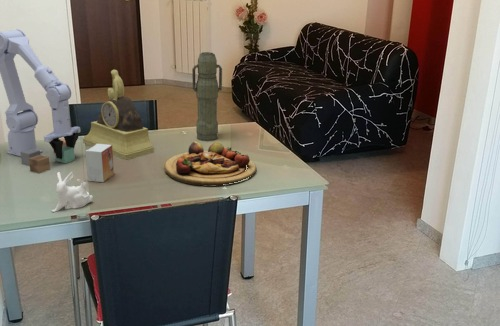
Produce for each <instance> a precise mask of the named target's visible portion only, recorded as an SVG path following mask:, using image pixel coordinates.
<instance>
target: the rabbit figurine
mask: <svg viewBox="0 0 500 326" xmlns="http://www.w3.org/2000/svg"><path fill="white" fill-rule="evenodd" d="M61 175H62V174H61V172H60V171H58V172H57V173H56V176H57V180H58V182H57V183H56V189H55V191H56V193H57V197H58V202H57V204H56V206H55V208H53V209H52V210H50V212H51V213H55V212H58V211H60V210H61V209H63V208H64V209H65V210H70V209H78V208H83V207H85V206H86V205H87V204H90V203H91V202H92V201H93V198H94V196H93V195H92V194H91V195H90V193H89V191H87V189H86V188H88V184H87V183H88V182H86V181H85V182H84V181H83V180H81V179H80V178H77V179H76V181H77V182H78V183H80V185H77V186H75V185H72V186H70V185H67V183H68V182H70V180H72V179H73V178H74V176H75V175H74V172H73V171H71V172H69V173H68V175H66V177H65V178H64V179H62V178H63V177H62V176H61Z"/></svg>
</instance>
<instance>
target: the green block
mask: <svg viewBox="0 0 500 326" xmlns="http://www.w3.org/2000/svg"><path fill="white" fill-rule="evenodd" d="M54 156H55V162H57V163H62V164H67V163H70V162H73V161H75V160H76V157H75V147H74V148H72V147H68V146H63V147H62V159H59V158H57V157H56V154H55V153H54Z"/></svg>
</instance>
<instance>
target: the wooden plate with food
mask: <svg viewBox="0 0 500 326" xmlns="http://www.w3.org/2000/svg"><path fill="white" fill-rule="evenodd" d="M187 150H188V151H187V152H181V153H178V154H176V155H173V156H171V157H170V158H168V159H167V160H166V161H165V163H164V172H165V173H166V174H167V176H169V177H171V178H172V179H173V180H176V181H178V182H180V183H184V184H188V185H193V184H195V185H194V186H200V185H223V184H229V183H234V182H238V181H241V180H243V179H246V178H248V177H250V176H252V175H253V174H254V173H255V171H256V172H257V166H256V164H255V162H254V161H252V159H250V156H249V155H248V154H241V152H240V151H238V150H233V149H232V147H229V146H228V147H225V146H224V145H223V144H222V143H220V142H219V141H216V142H214V143H211V144H210V145H209V146H208V149H207V150H205V149H204V147H203V145H202V144H201V143H200V142H198V141H197V140H196V141H193V142H192V143H191V144H190V145H189V146H188V149H187ZM246 165H247V167H248V168H247V170H246ZM245 170H246V171H245ZM255 174H256V173H255ZM255 174H254V175H255ZM254 175H253V176H254ZM253 176H252V177H253Z"/></svg>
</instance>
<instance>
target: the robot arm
mask: <svg viewBox="0 0 500 326" xmlns="http://www.w3.org/2000/svg"><path fill="white" fill-rule="evenodd" d="M16 55H19V56H20V57H21V58H22V59H23V61H25V63H27V65H28V66H29V67H30V68H31V69H32V70H33V71H34V78H35V79H36V81H38V83H39V84H40V85H41V86H42V88H43V89H44V91H45V92H46V93H45V96H46V99H47V101H48V102H49V107H50V109H51V116H52V126H53V131H52V132H49V133H48V134H46V135H44V136H43V141H44V142H46V143H49V145H50V147H51V148H52V149H53V153H54V152H55V153H54V155H55V154H56V156H55V158H56V157H57V158H59V159H62V146H63V141H61V140H60V139H62V138H63V139H65V142H66V146H68V147H72V148H74V149H75V147H76V144H77V141H78V139H79V133H81V127H80V126H73V127H72V125H71V117H70V116H71V115H70V105H69V99H71V97H72V91H71V87H70V86H69V85H68V84H67V83H64V82H63V81H61V80H60V79H59V78H58V77H57V76H56V75H55V73H54V72H53V70H52V68H50V67H49V66H46V65H43V63H42V62H41V60H40V59H39V57H38V56H37V54H36V53H35V52H34V50H33V48H32V47H31V45H30V39H29V37H28V36H27V34H26V33H25V32H24V31H23V30H21V29H15V30H4V31H0V77H1V79H2V82H3V83H2V84H3V87H4V90H5V94H6V96H7V100H8V103H9V107H7V108H6V111H5V112H4V114H5V119H6V120H5V122H6V123H5V124H6V125H7V128H8V129H9V131H8V133H7V142H8V148H9V150H8V151H7V153H8V154H9V155H13V156H17V157H21V154H20V152H21V151H24V150H27V149H31V148H32V149H36V150H39V151H40V153H42V152H43V150H42V149H37V140H36V133H35V129H36V125H37V124H38V122H39V117H38V115H37V113H36V111H35V110H34V107H33V105H32V104H30V103H28V102H26V101H27V100H26V98H25V94H24V91H23V88H22V87H23V86H22V85H21V80H20V77H19V74H18V70H17V67H16V63H15V61H14V59H15V57H16ZM77 133H78V134H77Z"/></svg>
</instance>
